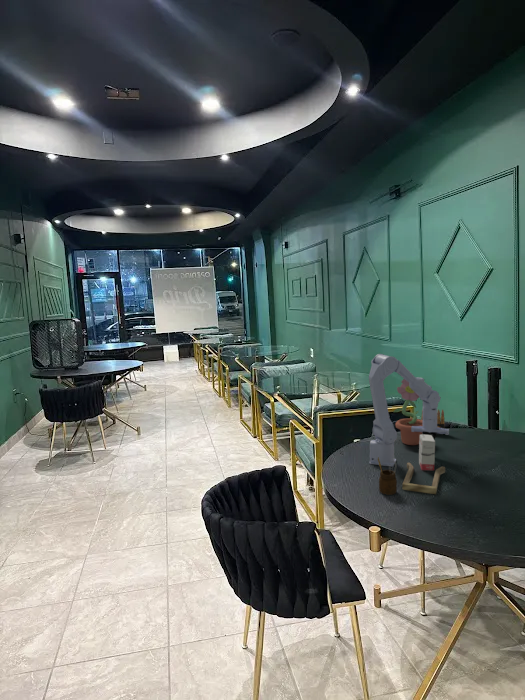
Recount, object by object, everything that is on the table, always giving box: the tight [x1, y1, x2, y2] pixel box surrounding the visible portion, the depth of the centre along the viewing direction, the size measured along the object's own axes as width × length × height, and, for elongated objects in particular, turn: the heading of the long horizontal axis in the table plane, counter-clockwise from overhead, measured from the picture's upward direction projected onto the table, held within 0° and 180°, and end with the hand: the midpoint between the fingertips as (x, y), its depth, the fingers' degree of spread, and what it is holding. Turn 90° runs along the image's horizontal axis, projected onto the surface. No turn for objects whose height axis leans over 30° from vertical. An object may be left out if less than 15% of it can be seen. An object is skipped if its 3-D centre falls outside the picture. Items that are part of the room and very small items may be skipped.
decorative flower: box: [393, 378, 423, 446], centre depth 205 cm, size 15×14×30 cm
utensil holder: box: [378, 457, 398, 496], centre depth 157 cm, size 6×6×12 cm
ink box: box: [418, 433, 436, 472], centre depth 177 cm, size 9×5×12 cm, turn 168°
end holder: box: [402, 462, 446, 495], centre depth 166 cm, size 14×21×2 cm, turn 154°
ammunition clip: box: [420, 408, 446, 435], centre depth 218 cm, size 11×2×12 cm, turn 68°
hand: (429, 449), depth 188 cm, fingers closed
